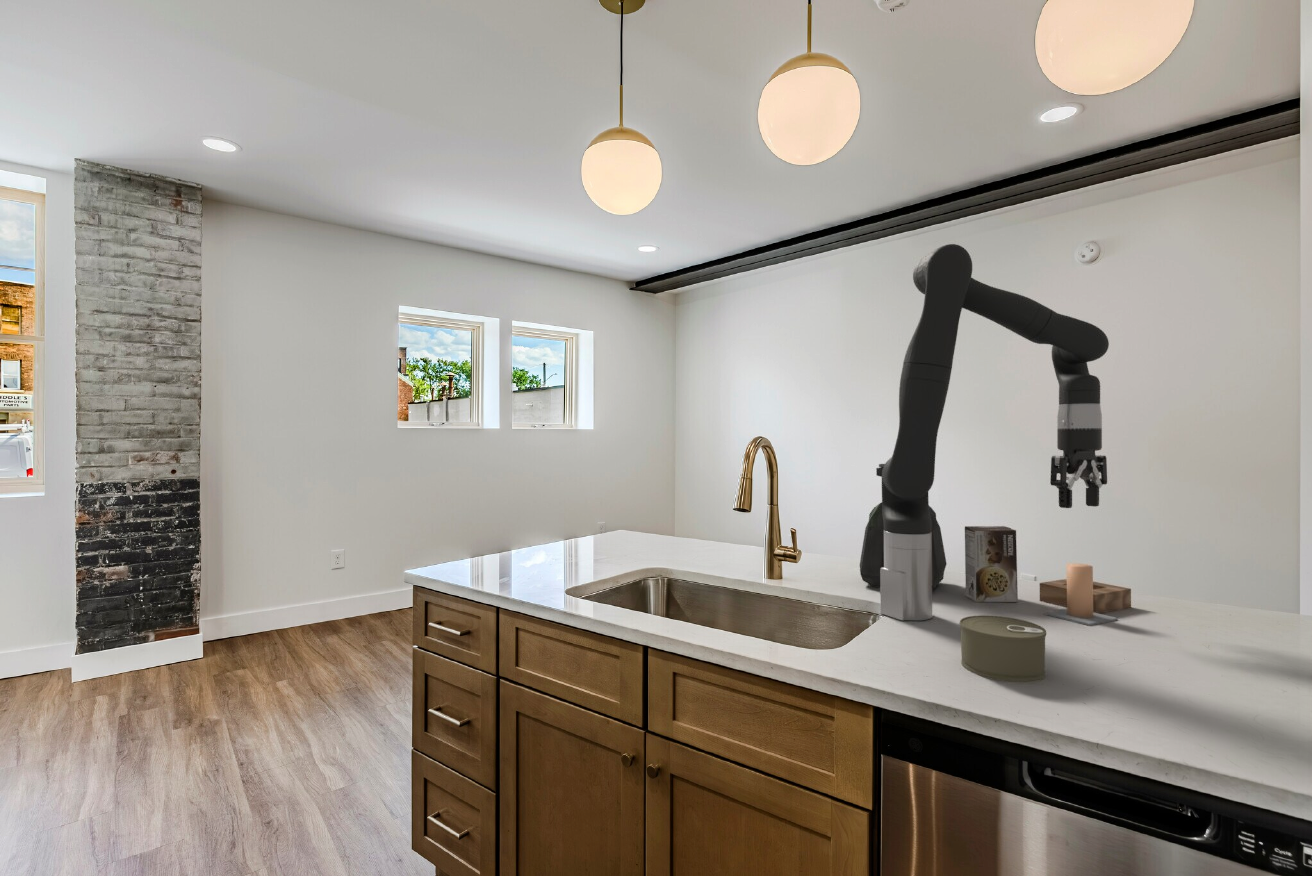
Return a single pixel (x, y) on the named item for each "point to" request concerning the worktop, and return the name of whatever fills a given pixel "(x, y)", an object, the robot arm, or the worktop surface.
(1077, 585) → the peach orange cylinder
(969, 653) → the can
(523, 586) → the worktop surface
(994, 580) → the coffee box
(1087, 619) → the rubber mat
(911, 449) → the robot arm
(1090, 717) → the worktop surface
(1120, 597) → the bore block
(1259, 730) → the worktop surface
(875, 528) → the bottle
